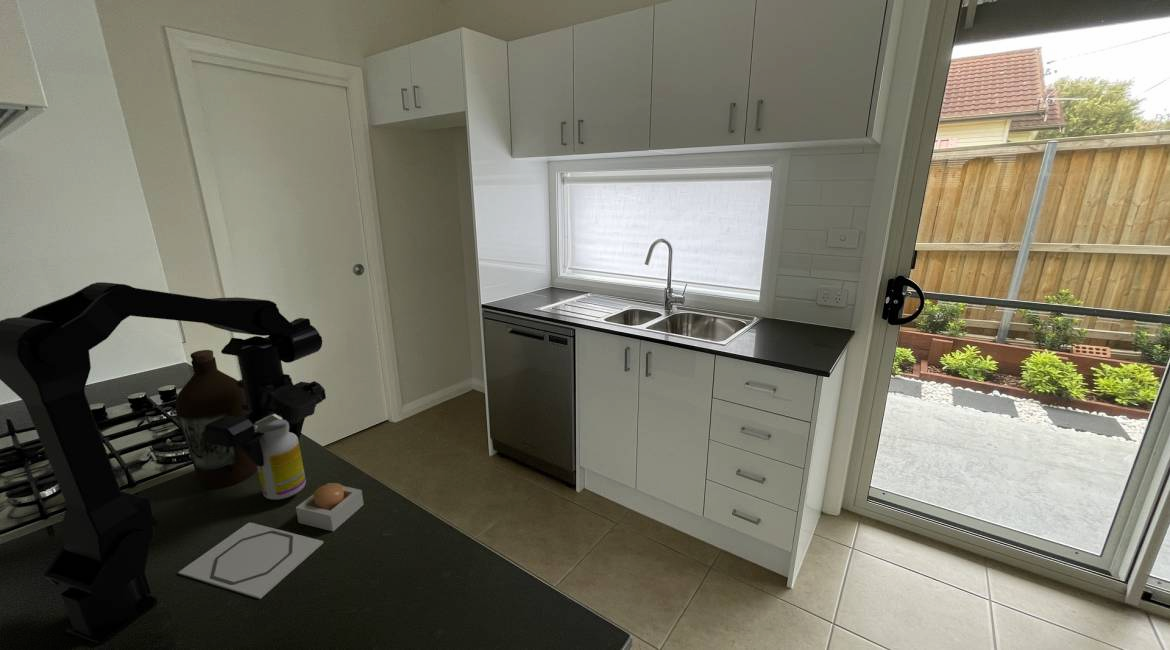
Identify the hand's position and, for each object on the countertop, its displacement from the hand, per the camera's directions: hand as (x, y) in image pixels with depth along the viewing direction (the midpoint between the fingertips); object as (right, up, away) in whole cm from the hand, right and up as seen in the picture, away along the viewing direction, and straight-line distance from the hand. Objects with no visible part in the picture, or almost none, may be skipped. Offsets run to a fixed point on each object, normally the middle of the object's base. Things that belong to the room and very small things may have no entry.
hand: (278, 455), depth 83 cm
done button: (+11, -8, -3) cm, 13 cm away
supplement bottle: (0, -7, +2) cm, 7 cm away
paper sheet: (+4, -12, -12) cm, 17 cm away
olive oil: (-15, -6, +8) cm, 18 cm away
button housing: (+11, -9, -2) cm, 14 cm away
